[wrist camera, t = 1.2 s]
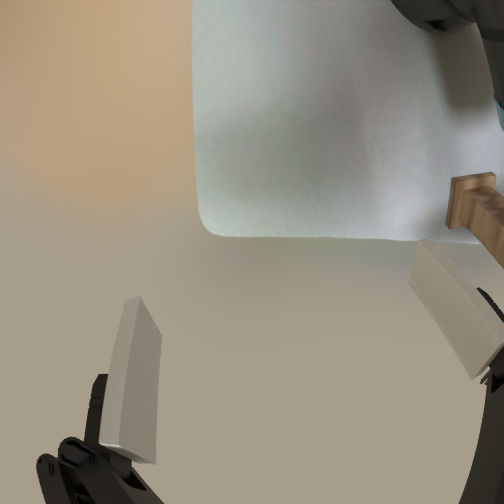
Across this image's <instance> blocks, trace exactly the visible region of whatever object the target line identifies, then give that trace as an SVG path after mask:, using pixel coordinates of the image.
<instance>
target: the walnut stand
mask: <svg viewBox="0 0 504 504" xmlns="http://www.w3.org/2000/svg"><path fill="white" fill-rule="evenodd" d="M495 181H496V175H495V174H494V173H492V172H489V173H482V174H475V175H468V176H461V177H455V178H452V180H451V189H450V198H449V205H448V212H447V218H446V224H445V225H446V226H447V227H448V228H449V229H451V228H455V227H459V226H463V225H465V226H466V227H467V228H468V229H469V230H470V231H471V232H472V233H473V234H474V235H475V236H476V237H477V239H478V240H479V241H480V242H481V243H482V244H483V245H484V246H485V247H486V249H487V250H488V251H489V252H490V253H491V254H492V256H493V257H494V258H495V259H496V260H497V262H498V263H499V264H500V265H501V267H502V268H503V269H504V197H503V196H502V195H500V194H499V193H498V192H497V191H495V190H494V187H495Z"/></svg>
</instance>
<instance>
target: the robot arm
mask: <svg viewBox="0 0 504 504" xmlns="http://www.w3.org/2000/svg"><path fill="white" fill-rule="evenodd" d="M391 1H392V2H393V3H394V5H395V6H396V7H397V8H398V9H399V11H400V12H401V13H402V14H403V15H404V16H405V17H407V18H408V19H409V20H410V21H411V22H413V23H414V24H416V25H417V26H419V27H421V28H423V29H425V30H427V31H430V32H434V33H454V32H457V31H459V30H461V29H463V28H465V27H467V26H469V25H471V24H474V23H477V26H478V28H479V31H480V34H481V38H482V41H483V44H484V48H485V52H486V55H487V59H488V64H489V68H490V72H491V77H492V82H493V88H494V93H493V95H494V100H495V102H496V105H497V111H498V117H499V122H500V126H501V128H502V130H503V132H504V0H391ZM408 283H409V285H410V286H411V288H412V289H413V290H414V292H415V293H416V295H417V296H418V297H419V299H420V300H421V301H422V303H423V304H424V306H425V307H426V309H427V310H428V311H429V313H430V314H431V316H432V317H433V319H434V320H435V322H436V323H437V325H438V326H439V328H440V329H441V331H442V332H443V334H444V335H445V337H446V338H447V340H448V341H449V343H450V345H451V346H452V348H453V350H454V351H455V353H456V355H457V356H458V358H459V360H460V361H461V363H462V365H463V366H464V368H465V370H466V372H467V373H468V375H469V377H470V379H471V380H472V379H474V378H475V377H477V376H479V375H480V374H482V373H483V371H484V370H485V369H486V368H487V367H488V366H489V367H490V370H489V371H488V372H487V373H486V374H485V376H484V377H483V378H482V379H481V382H480V384H482V383H483V382H484V381H485V380H486V379H487V381H486V382H485V385H487V389H486V399H485V406H484V413H483V418H482V424H481V429H480V434H479V439H478V444H477V448H476V452H475V456H474V459H473V463H472V467H471V470H470V473H469V477H468V479H467V482H466V485H465V488H464V491H463V494H462V497H461V499H460V502H459V504H504V314H503V312H502V311H501V310H500V309H499V308H498V306H497V305H496V303H494V301H493V300H492V298H491V297H490V296H489V295H488V294H487V293H486V292H485V291H483V290H482V289H480V288H475V286H474V285H473V284H472V283H471V282H470V281H469V279H468V278H467V277H466V276H465V275H464V274H463V273H462V272H461V270H460V269H459V268H458V267H457V266H456V265H455V264H454V263H453V262H452V261H451V260H450V259H449V257H448V256H447V255H446V254H445V253H444V252H443V251H442V250H441V249H440V248H439V247H438V246H437V245H436V244H435V243H434V242H433V241H432V240H431V239H430V238H429V239H424V240H420V241H419V242H418V246H417V250H416V254H415V259H414V262H413V266H412V270H411V274H410V278H409V281H408ZM161 343H162V334H161V333H160V331H159V329H158V328H157V326H156V324H155V322H154V321H153V319H152V317H151V315H150V313H149V312H148V310H147V308H146V306H145V304H144V302H143V301H142V299H141V297H137V298H131V299H126V300H125V303H124V307H123V311H122V315H121V319H120V323H119V327H118V331H117V336H116V340H115V344H114V349H113V353H112V358H111V363H110V369H109V374H99V375H98V377H97V379H96V380H95V382H94V384H93V387H92V393H91V399H90V403H89V407H90V408H89V409H88V415H87V422H86V429H85V437H84V442H83V441H81V440H80V439H77V438H76V437H68V438H66V439H64V440H63V441H62V442H61V443H60V446H59V448H58V457H57V458H56V457H54V456H52V455H50V454H43V455H41V456H40V457H39V459H38V460H37V464H36V469H37V474H38V478H39V482H40V486H41V489H42V493H43V496H44V499H45V502H46V504H164V503H163V502H162V501H161V500H160V498H158V496H157V495H156V494H155V493H154V492H153V491H152V490H151V488H150V487H149V486H148V485H147V484H146V483H145V481H144V480H143V479H142V478H141V477H140V475H139V474H138V473H137V472H136V470H135V469H134V468H133V467H132V466H131V465H132V464H131V463H132V462H131V461H134V462H136V463H138V464H156V424H157V422H156V421H157V397H158V381H159V367H160V354H161Z"/></svg>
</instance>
